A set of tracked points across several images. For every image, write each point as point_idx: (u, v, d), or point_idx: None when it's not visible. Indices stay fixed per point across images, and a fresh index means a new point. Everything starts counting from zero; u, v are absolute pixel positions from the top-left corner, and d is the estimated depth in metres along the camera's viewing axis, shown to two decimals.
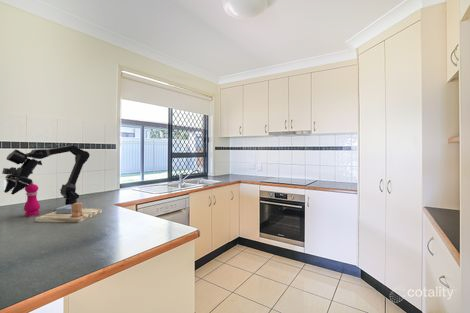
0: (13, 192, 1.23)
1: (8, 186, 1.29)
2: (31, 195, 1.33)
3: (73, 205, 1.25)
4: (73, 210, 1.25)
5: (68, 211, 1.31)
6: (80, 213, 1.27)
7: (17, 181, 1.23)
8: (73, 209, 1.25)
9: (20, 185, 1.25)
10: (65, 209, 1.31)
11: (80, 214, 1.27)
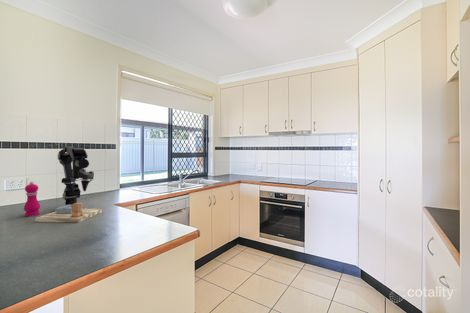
0: None
1: None
2: (31, 195, 1.33)
3: (73, 205, 1.25)
4: (73, 210, 1.25)
5: (68, 211, 1.31)
6: (80, 213, 1.27)
7: (91, 180, 1.50)
8: (73, 209, 1.25)
9: None
10: (65, 209, 1.31)
11: (80, 214, 1.27)
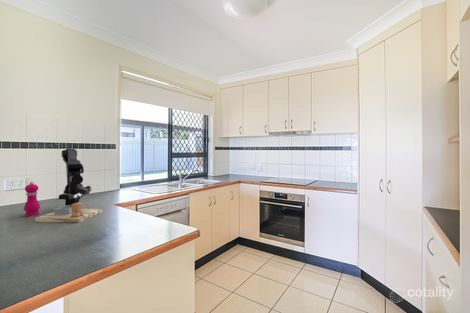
0: None
1: None
2: (31, 195, 1.33)
3: (73, 205, 1.25)
4: (73, 210, 1.25)
5: (66, 212, 1.30)
6: (80, 213, 1.27)
7: None
8: (73, 209, 1.25)
9: None
10: (63, 210, 1.30)
11: (80, 214, 1.27)
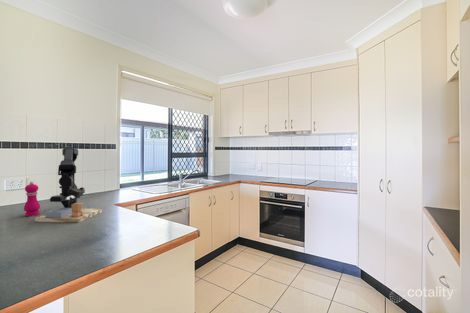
0: None
1: None
2: (31, 195, 1.33)
3: (73, 205, 1.25)
4: (73, 210, 1.25)
5: (58, 215, 1.24)
6: (80, 213, 1.27)
7: (76, 198, 1.37)
8: (73, 209, 1.25)
9: None
10: (55, 213, 1.24)
11: (80, 214, 1.27)
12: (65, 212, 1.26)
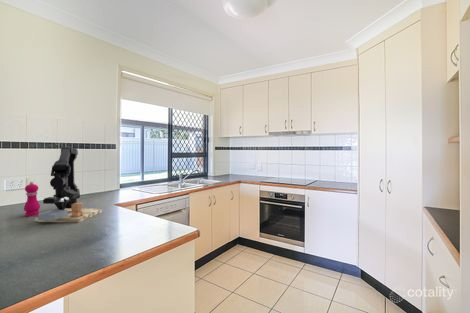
0: None
1: None
2: (31, 195, 1.33)
3: (73, 205, 1.25)
4: (73, 210, 1.25)
5: (51, 217, 1.19)
6: (80, 213, 1.27)
7: (70, 199, 1.33)
8: (73, 209, 1.25)
9: None
10: (48, 215, 1.19)
11: (80, 214, 1.27)
12: (58, 214, 1.22)
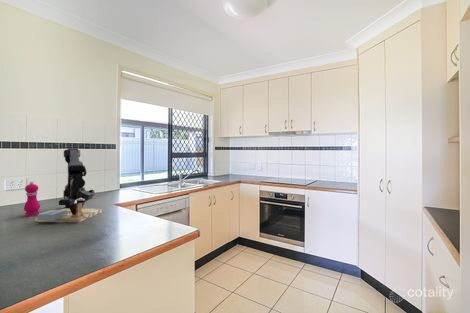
0: None
1: None
2: (31, 195, 1.33)
3: None
4: None
5: (51, 217, 1.19)
6: (80, 213, 1.27)
7: (87, 200, 1.32)
8: None
9: None
10: (47, 215, 1.19)
11: (80, 214, 1.27)
12: (58, 215, 1.22)
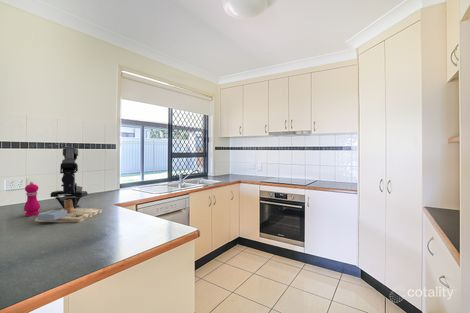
0: None
1: None
2: (31, 195, 1.33)
3: (71, 201, 1.35)
4: (71, 206, 1.35)
5: (51, 217, 1.19)
6: None
7: None
8: (71, 205, 1.35)
9: None
10: (47, 215, 1.19)
11: None
12: (58, 215, 1.22)
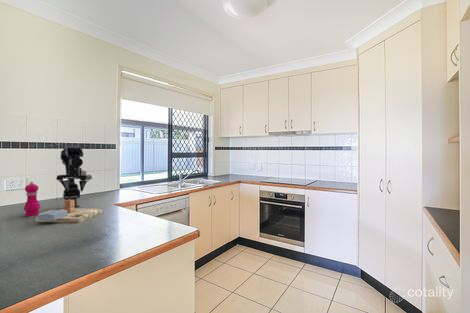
0: None
1: None
2: (31, 195, 1.33)
3: (71, 201, 1.35)
4: (71, 206, 1.35)
5: (51, 217, 1.19)
6: None
7: None
8: (71, 205, 1.35)
9: None
10: (47, 215, 1.19)
11: None
12: (58, 215, 1.22)
